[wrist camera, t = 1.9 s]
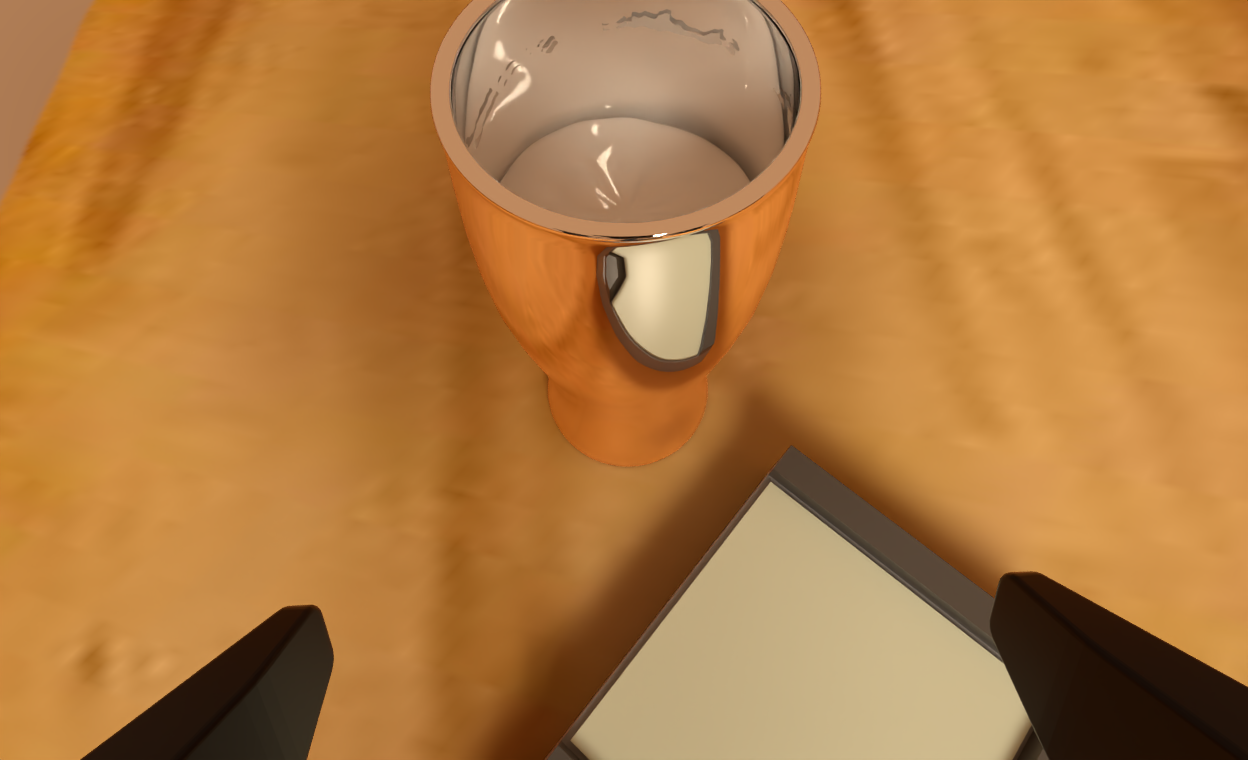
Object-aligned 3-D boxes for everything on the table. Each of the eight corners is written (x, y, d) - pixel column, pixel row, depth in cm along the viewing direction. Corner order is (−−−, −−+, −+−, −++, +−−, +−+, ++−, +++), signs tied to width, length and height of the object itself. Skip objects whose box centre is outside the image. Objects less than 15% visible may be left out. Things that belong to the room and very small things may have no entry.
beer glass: (648, 518, 23) (678, 335, 9) (500, 409, 24) (326, 108, 10) (752, 372, 25) (910, 37, 11) (609, 280, 26) (586, -115, 12)
